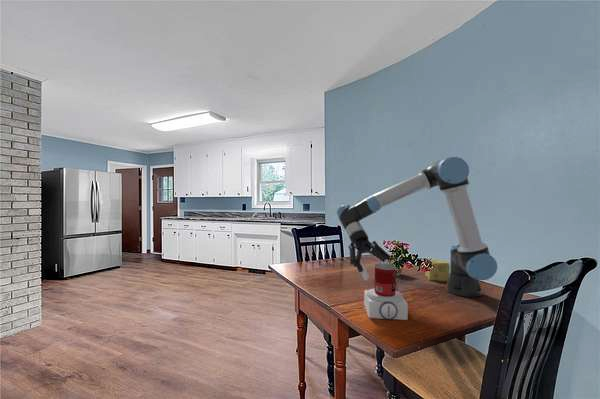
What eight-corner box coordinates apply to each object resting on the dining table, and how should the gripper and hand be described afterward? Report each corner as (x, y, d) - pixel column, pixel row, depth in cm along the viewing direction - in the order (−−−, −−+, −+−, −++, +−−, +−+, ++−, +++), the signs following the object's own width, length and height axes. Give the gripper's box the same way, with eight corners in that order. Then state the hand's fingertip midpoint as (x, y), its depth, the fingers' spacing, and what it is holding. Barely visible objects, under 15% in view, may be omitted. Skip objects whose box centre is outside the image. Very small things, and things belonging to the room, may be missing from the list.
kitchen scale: (398, 305, 122) (398, 289, 122) (408, 321, 107) (408, 301, 107) (364, 304, 123) (364, 287, 123) (369, 319, 108) (369, 300, 108)
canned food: (396, 297, 111) (397, 268, 111) (375, 296, 113) (375, 267, 113) (394, 291, 119) (394, 264, 119) (373, 289, 120) (374, 263, 120)
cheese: (429, 280, 161) (429, 262, 161) (424, 275, 172) (424, 258, 172) (449, 281, 160) (449, 263, 160) (443, 276, 170) (443, 259, 170)
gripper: (374, 238, 139) (397, 277, 126) (330, 241, 127) (351, 285, 114) (382, 228, 134) (407, 268, 121) (337, 230, 122) (360, 274, 109)
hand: (380, 276), depth 118 cm, fingers open, 13 cm apart
